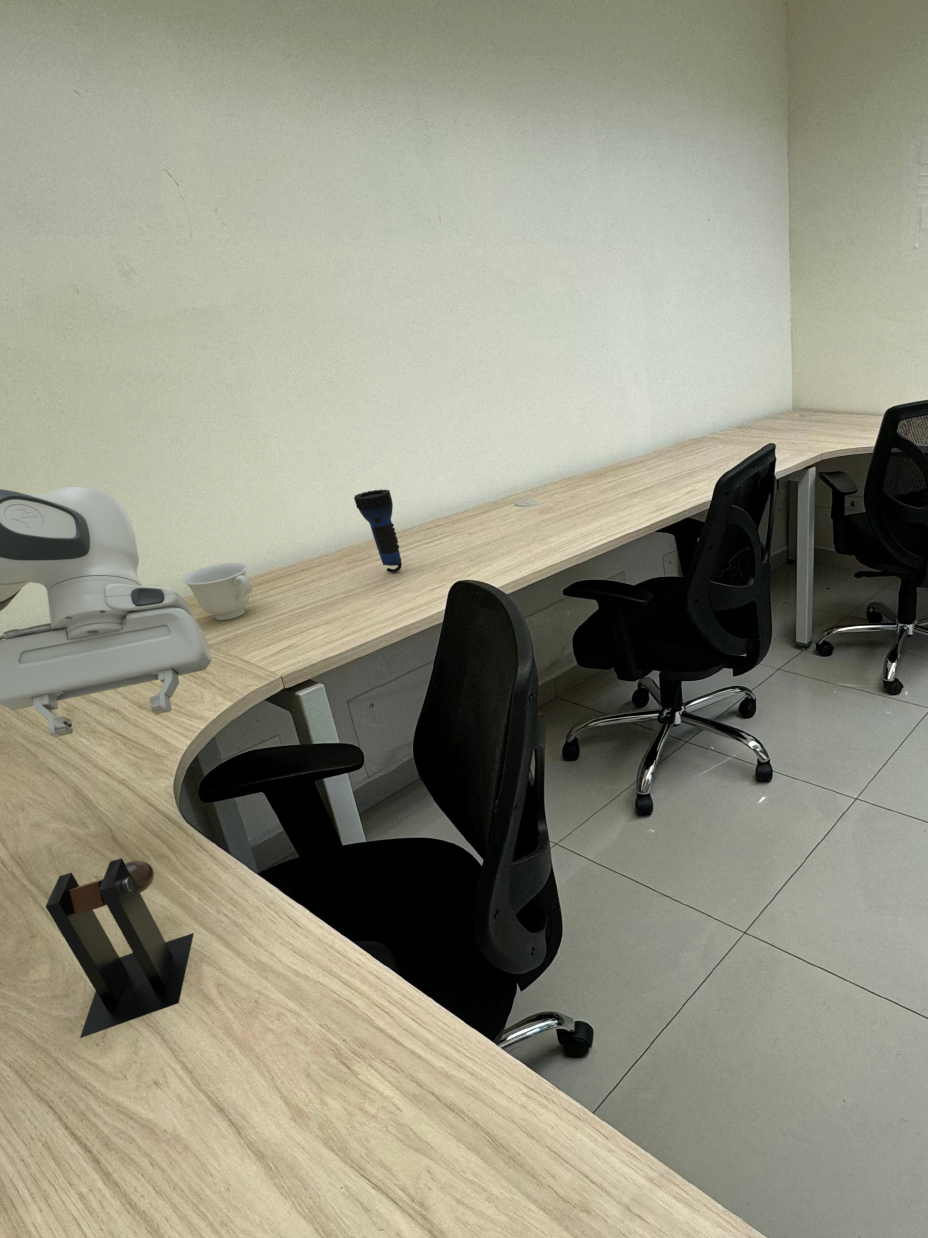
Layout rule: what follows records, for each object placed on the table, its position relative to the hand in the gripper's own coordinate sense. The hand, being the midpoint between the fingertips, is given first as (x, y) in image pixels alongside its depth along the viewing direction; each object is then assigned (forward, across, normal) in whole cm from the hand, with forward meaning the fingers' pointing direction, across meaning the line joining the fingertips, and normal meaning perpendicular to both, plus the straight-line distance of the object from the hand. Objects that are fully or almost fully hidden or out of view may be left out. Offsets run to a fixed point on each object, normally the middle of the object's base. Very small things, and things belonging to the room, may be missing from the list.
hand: (112, 722), depth 87 cm
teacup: (-48, -2, +77) cm, 91 cm away
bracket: (+30, 0, 0) cm, 30 cm away
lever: (+21, 0, -4) cm, 21 cm away
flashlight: (-55, +31, +84) cm, 105 cm away
